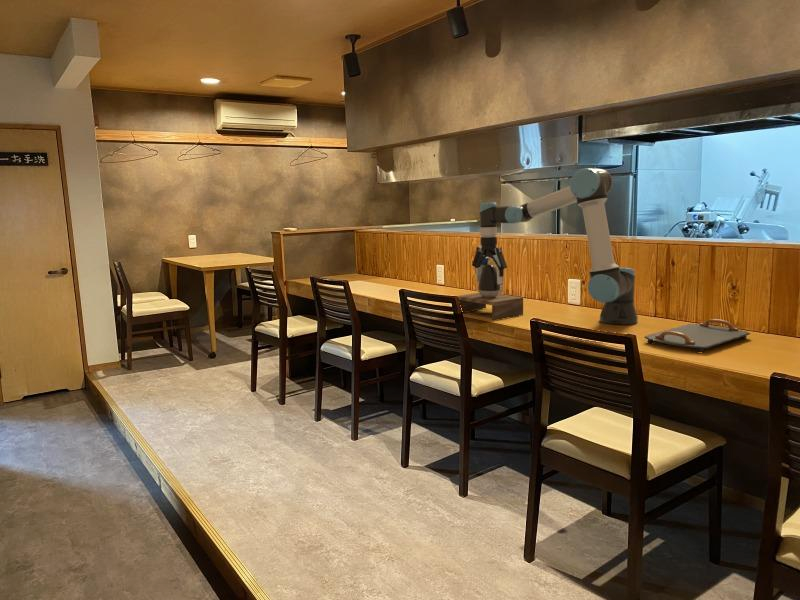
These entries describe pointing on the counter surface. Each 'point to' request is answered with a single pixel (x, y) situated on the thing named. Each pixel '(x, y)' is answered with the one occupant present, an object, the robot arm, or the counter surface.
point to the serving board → (698, 335)
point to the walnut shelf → (493, 304)
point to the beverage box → (490, 261)
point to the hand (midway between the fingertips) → (489, 282)
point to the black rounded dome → (488, 282)
